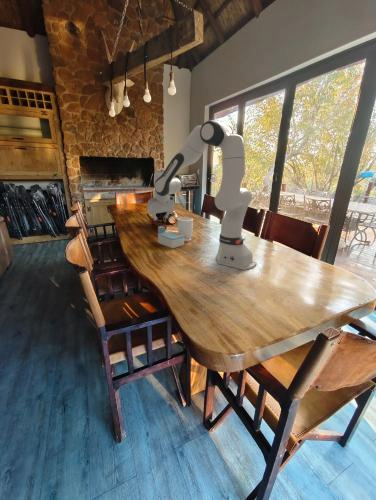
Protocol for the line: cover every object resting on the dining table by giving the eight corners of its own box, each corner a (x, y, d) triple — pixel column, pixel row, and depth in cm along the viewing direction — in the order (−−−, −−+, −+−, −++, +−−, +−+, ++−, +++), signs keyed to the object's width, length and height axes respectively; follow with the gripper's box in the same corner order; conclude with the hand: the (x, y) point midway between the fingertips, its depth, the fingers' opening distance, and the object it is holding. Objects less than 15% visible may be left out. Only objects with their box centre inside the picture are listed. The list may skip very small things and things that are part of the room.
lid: (185, 237, 151) (185, 230, 150) (172, 241, 144) (172, 233, 142) (165, 231, 163) (165, 225, 161) (153, 234, 156) (153, 227, 154)
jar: (193, 238, 169) (193, 217, 164) (192, 242, 159) (192, 220, 154) (178, 237, 170) (178, 216, 164) (176, 241, 160) (176, 220, 155)
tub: (184, 245, 153) (184, 236, 151) (172, 249, 146) (172, 240, 144) (169, 240, 162) (169, 232, 160) (158, 243, 155) (158, 235, 153)
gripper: (151, 199, 141) (151, 222, 146) (176, 197, 155) (175, 217, 160) (144, 198, 145) (145, 220, 150) (169, 195, 159) (169, 216, 164)
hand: (161, 219), depth 155 cm, fingers open, 8 cm apart
